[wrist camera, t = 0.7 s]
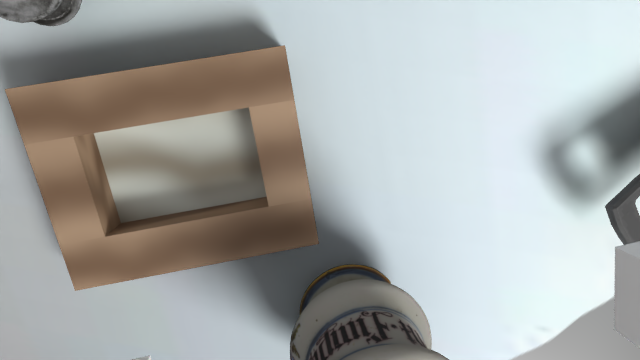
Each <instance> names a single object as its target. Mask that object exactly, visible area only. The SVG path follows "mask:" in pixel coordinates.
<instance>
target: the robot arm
mask: <svg viewBox="0 0 640 360" xmlns="http://www.w3.org/2000/svg"><path fill="white" fill-rule="evenodd" d="M614 301H615V302H614V303H615V304H614V330H615V331H617V332H618V333H619V334H621V335H622V336H623V337H625V338H626V339H628V340H629V341H630V342H632V343H633V344H634V345H636V346H637V347H639V348H640V241H639V242H635V243H630V244H626V245H622V246H618V247H615V299H614ZM132 360H152V359H151V356H150V355H149V356H145V357H141V358H137V359H132Z"/></svg>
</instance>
